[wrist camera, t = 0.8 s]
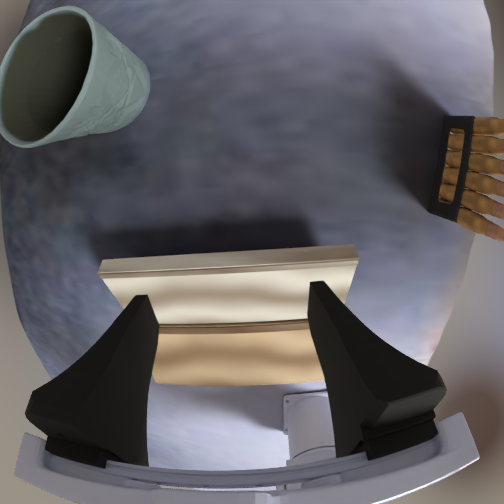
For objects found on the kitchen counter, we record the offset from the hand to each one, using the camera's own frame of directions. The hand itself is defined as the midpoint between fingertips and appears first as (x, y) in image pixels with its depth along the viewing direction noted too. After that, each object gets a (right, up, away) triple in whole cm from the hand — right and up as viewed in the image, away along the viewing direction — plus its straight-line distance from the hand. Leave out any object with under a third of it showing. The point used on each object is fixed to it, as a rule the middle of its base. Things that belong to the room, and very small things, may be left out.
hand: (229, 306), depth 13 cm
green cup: (-13, +18, +10) cm, 24 cm away
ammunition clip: (+21, +11, +12) cm, 27 cm away
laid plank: (-1, -9, +19) cm, 21 cm away
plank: (-1, -1, +14) cm, 14 cm away
